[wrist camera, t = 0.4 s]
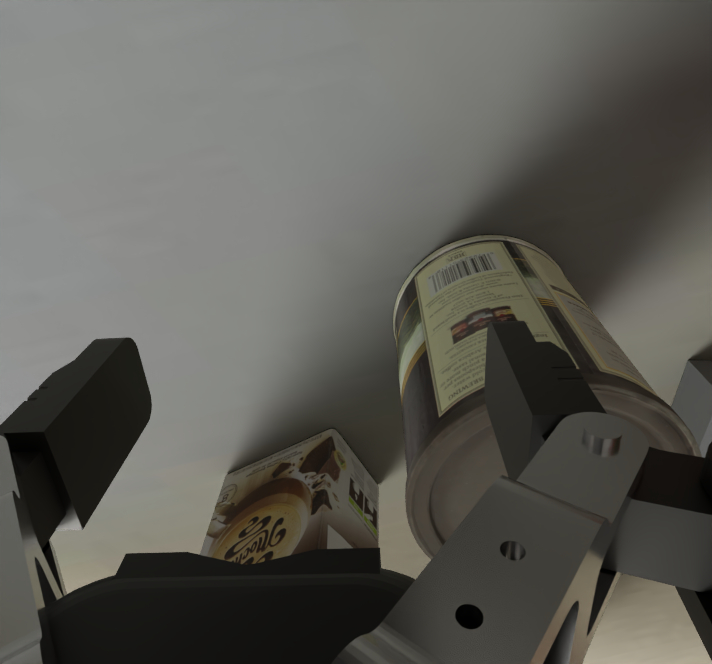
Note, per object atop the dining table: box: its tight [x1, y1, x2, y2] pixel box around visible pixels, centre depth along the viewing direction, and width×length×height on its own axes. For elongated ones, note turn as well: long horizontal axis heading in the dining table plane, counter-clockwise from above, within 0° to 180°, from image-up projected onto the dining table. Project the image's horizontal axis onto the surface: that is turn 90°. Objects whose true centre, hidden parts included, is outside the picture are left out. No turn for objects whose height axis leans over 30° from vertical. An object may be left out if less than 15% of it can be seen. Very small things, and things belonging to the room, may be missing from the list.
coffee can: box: [393, 235, 702, 575], centre depth 26 cm, size 10×10×14 cm
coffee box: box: [200, 429, 379, 564], centre depth 31 cm, size 9×6×16 cm
